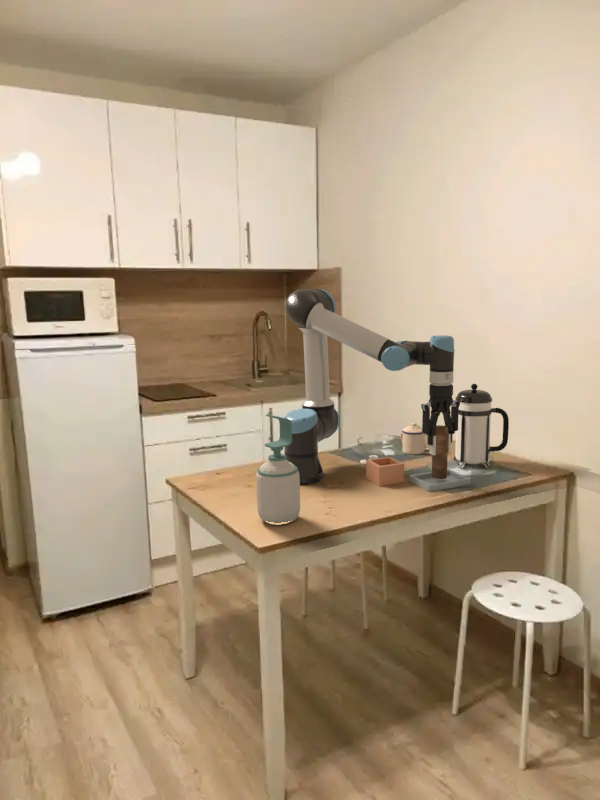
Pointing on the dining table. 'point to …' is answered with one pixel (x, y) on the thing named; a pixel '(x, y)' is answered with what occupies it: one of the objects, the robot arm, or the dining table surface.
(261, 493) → the soap bottle
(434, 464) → the walnut dowel
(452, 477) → the slate tray
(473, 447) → the coffee press
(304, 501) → the dining table surface
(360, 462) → the teacup and saucer
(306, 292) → the robot arm
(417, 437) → the teacup with lid
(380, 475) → the terracotta square box
